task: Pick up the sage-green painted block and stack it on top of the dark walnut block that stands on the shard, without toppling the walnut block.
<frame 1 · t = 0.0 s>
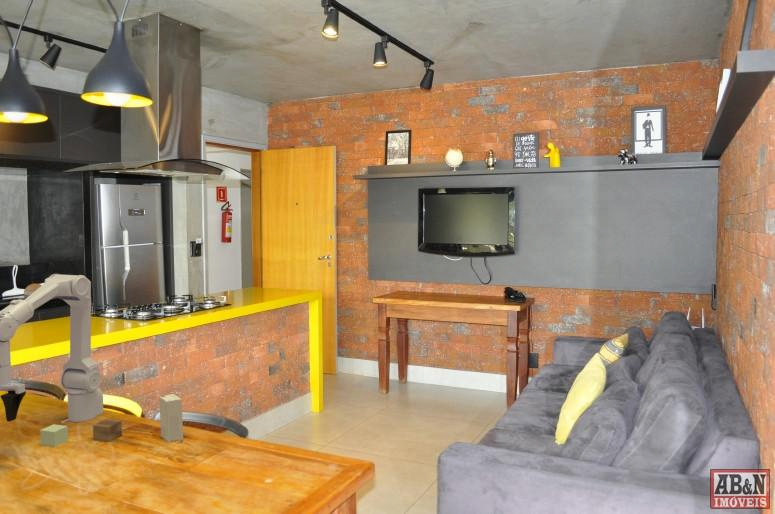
skincare box: (171, 441, 166), on the table
shard: (108, 444, 165), on the table, touching walnut block
walnut block: (107, 437, 165), point 1 cm above the table, touching shard
sage block: (54, 446, 161), on the table
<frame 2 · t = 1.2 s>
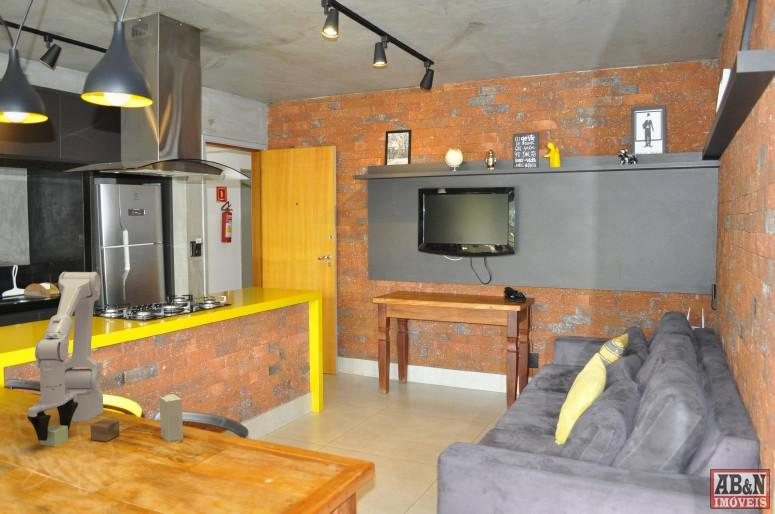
hand: (54, 434, 161), 3 cm above the table, tool pointing down, fingers open, 7 cm apart
nothing on the table moved.
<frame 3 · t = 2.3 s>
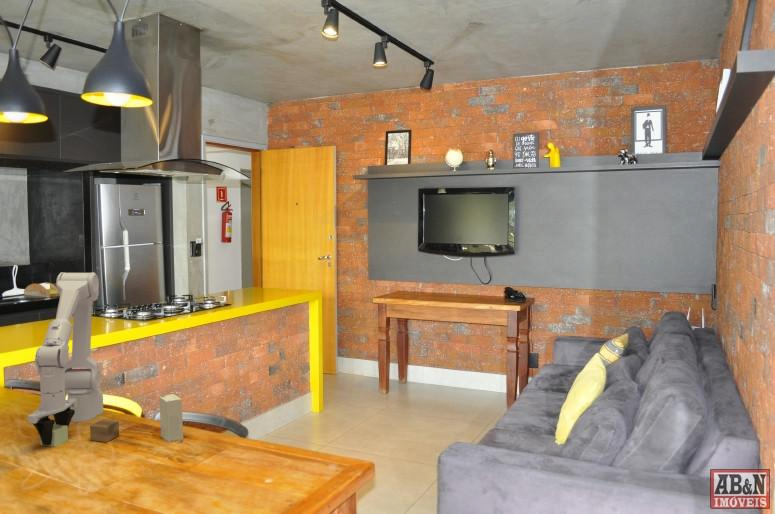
hand: (54, 440, 161), 1 cm above the table, tool pointing down, fingers closed on sage block, 4 cm apart
sage block: (54, 446, 161), on the table, touching gripper
everything else where it was.
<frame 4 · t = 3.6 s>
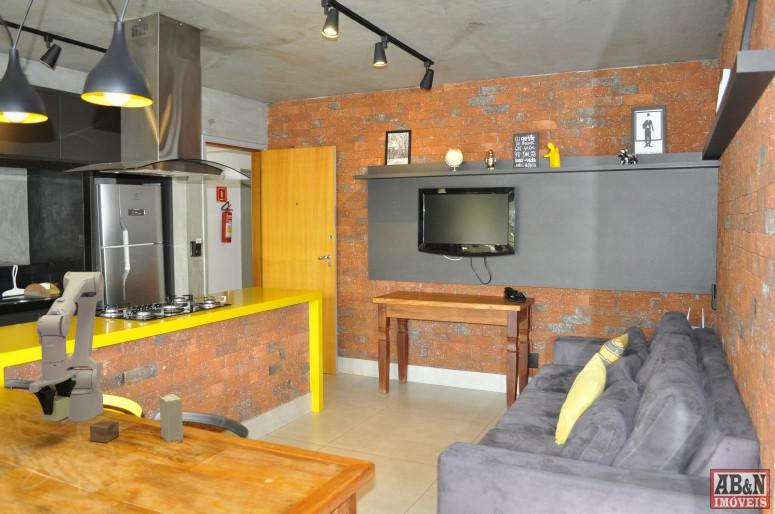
hand: (55, 411, 160), 9 cm above the table, tool pointing down, fingers closed on sage block, 4 cm apart
sage block: (56, 417, 160), point 8 cm above the table, touching gripper
everything else where it was.
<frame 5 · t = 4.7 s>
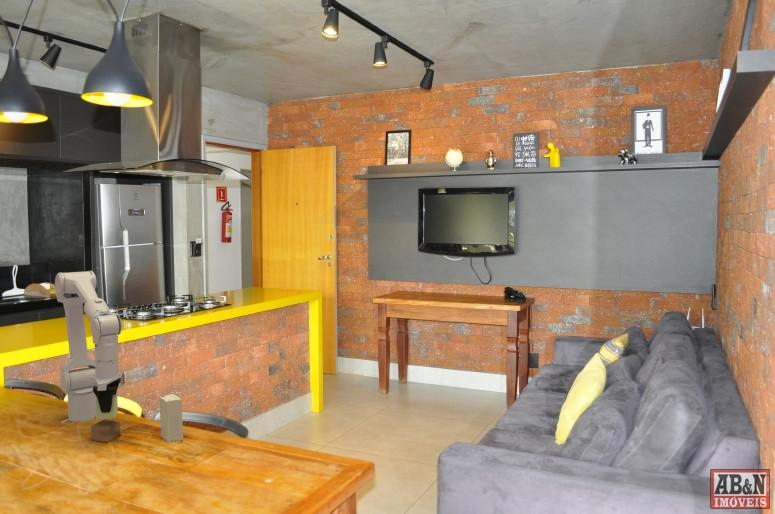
hand: (107, 409, 164), 9 cm above the table, tool pointing down, fingers closed on sage block, 4 cm apart
sage block: (107, 415, 164), point 7 cm above the table, touching gripper
everything else where it was.
when the fingers open (9 cm above the table, at t = 5.5 s): sage block drops 2 cm, point 5 cm above the table.
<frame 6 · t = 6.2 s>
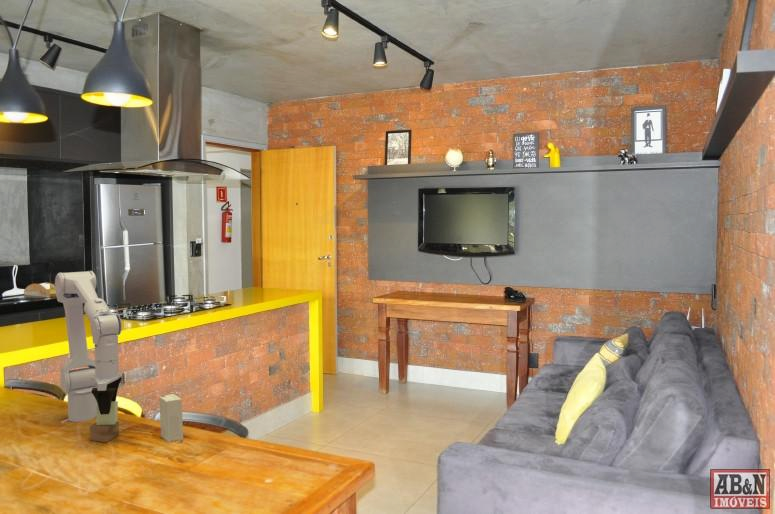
hand: (107, 409, 164), 9 cm above the table, tool pointing down, fingers open, 7 cm apart
sage block: (107, 422, 165), point 5 cm above the table
everything else where it was.
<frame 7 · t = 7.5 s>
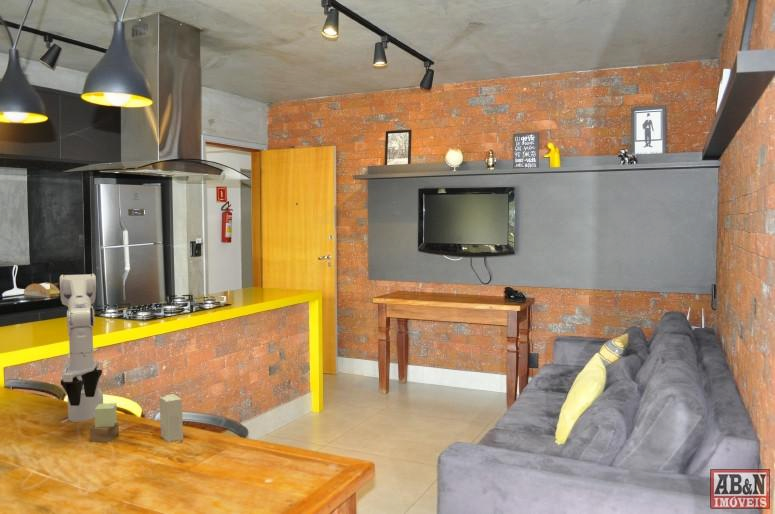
hand: (82, 400, 166), 10 cm above the table, tool pointing down, fingers open, 7 cm apart
walnut block: (104, 439, 164), point 1 cm above the table, touching shard, sage block
sage block: (105, 424, 164), point 5 cm above the table, touching walnut block
everything else where it was.
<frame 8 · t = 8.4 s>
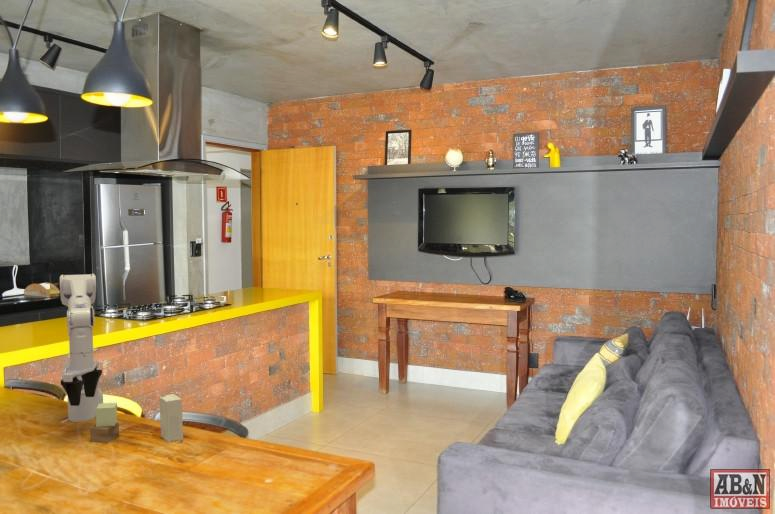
hand: (82, 400, 166), 10 cm above the table, tool pointing down, fingers open, 7 cm apart
walnut block: (104, 439, 164), point 1 cm above the table, touching shard
sage block: (106, 423, 165), point 5 cm above the table
everything else where it was.
at the end: sage block 1.0 cm off-centre on the walnut block, point 4.0 cm above the walnut block's base; walnut block tilted 0°; the gripper is holding nothing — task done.
